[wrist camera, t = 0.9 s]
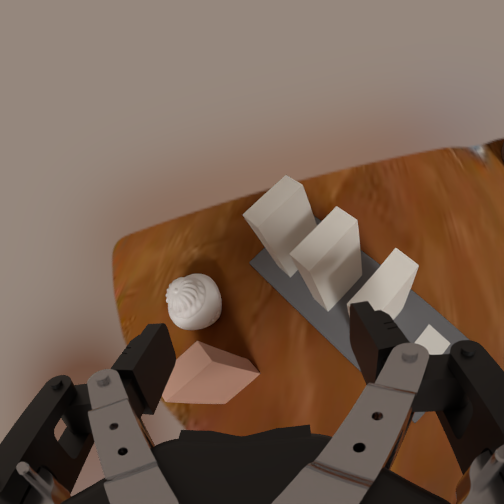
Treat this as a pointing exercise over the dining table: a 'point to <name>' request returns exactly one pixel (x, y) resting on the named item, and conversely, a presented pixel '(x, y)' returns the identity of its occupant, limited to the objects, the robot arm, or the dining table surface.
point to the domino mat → (337, 318)
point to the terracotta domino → (208, 376)
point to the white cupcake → (194, 301)
